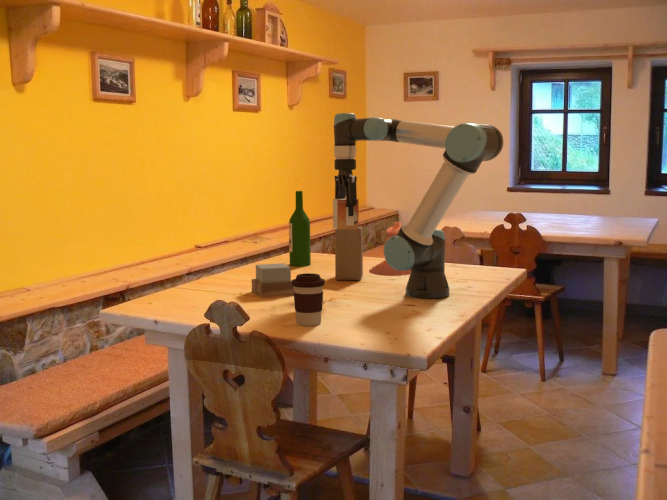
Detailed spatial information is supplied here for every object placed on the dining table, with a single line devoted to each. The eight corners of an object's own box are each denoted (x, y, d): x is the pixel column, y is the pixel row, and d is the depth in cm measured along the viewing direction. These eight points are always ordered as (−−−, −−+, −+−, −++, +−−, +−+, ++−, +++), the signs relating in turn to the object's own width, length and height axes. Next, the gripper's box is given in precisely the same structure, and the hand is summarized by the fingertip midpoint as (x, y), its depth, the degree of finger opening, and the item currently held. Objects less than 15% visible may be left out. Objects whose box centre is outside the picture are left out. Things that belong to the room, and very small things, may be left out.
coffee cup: (324, 320, 227) (324, 272, 225) (325, 327, 217) (325, 277, 215) (292, 320, 227) (291, 272, 225) (292, 328, 217) (291, 277, 215)
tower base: (295, 296, 252) (295, 281, 252) (262, 298, 248) (261, 284, 247) (284, 290, 263) (284, 276, 263) (251, 293, 259) (251, 278, 258)
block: (362, 276, 290) (362, 225, 287) (361, 280, 280) (361, 228, 278) (337, 276, 291) (337, 225, 288) (335, 280, 281) (334, 228, 279)
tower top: (290, 281, 252) (290, 267, 251) (262, 283, 249) (261, 268, 248) (283, 277, 261) (283, 263, 261) (255, 278, 258) (255, 264, 257)
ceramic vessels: (415, 277, 287) (415, 229, 285) (362, 276, 291) (362, 228, 289) (422, 264, 321) (423, 221, 319) (374, 263, 325) (374, 221, 323)
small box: (337, 229, 255) (336, 199, 254) (332, 228, 261) (332, 198, 259) (359, 229, 258) (358, 198, 256) (354, 227, 263) (354, 198, 262)
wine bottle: (287, 266, 317) (286, 190, 313) (307, 265, 320) (306, 190, 316) (292, 269, 309) (291, 191, 305) (313, 268, 312) (312, 191, 308)
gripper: (366, 158, 249) (367, 226, 252) (343, 158, 266) (344, 222, 269) (346, 158, 246) (347, 227, 249) (324, 158, 263) (325, 223, 266)
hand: (345, 224), depth 259 cm, fingers closed on small box, 6 cm apart
